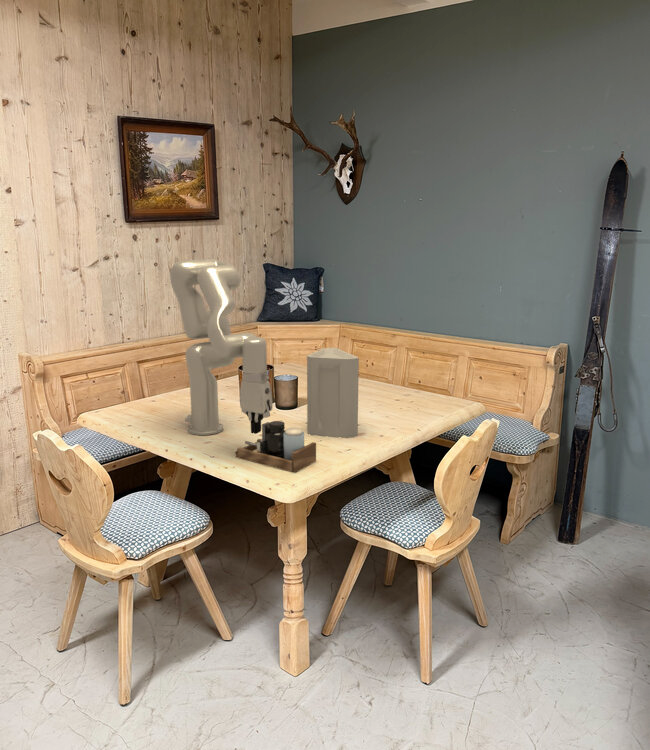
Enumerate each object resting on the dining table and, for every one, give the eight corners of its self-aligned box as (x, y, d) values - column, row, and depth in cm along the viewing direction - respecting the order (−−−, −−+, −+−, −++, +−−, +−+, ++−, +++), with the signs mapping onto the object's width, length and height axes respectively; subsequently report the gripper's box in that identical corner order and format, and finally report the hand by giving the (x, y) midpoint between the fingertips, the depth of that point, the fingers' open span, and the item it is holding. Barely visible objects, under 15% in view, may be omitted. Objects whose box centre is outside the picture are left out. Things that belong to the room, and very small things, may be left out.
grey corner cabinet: (297, 426, 242) (297, 351, 235) (334, 420, 248) (334, 347, 241) (319, 442, 225) (320, 362, 218) (358, 436, 231) (359, 357, 225)
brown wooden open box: (235, 457, 212) (235, 439, 210) (258, 446, 221) (257, 429, 219) (295, 472, 199) (294, 453, 198) (316, 460, 209) (316, 442, 207)
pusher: (237, 454, 213) (236, 422, 210) (254, 447, 220) (253, 415, 217) (260, 460, 208) (259, 427, 205) (276, 452, 215) (275, 420, 212)
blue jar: (279, 464, 205) (279, 431, 203) (291, 458, 211) (291, 425, 208) (296, 469, 202) (296, 435, 199) (308, 462, 207) (308, 429, 205)
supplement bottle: (288, 455, 213) (288, 419, 210) (288, 463, 207) (288, 426, 204) (266, 455, 213) (266, 419, 210) (266, 463, 206) (265, 426, 203)
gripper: (281, 377, 207) (281, 433, 212) (244, 371, 215) (245, 425, 219) (266, 382, 201) (267, 440, 205) (228, 375, 209) (230, 431, 213)
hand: (256, 432), depth 212 cm, fingers closed
